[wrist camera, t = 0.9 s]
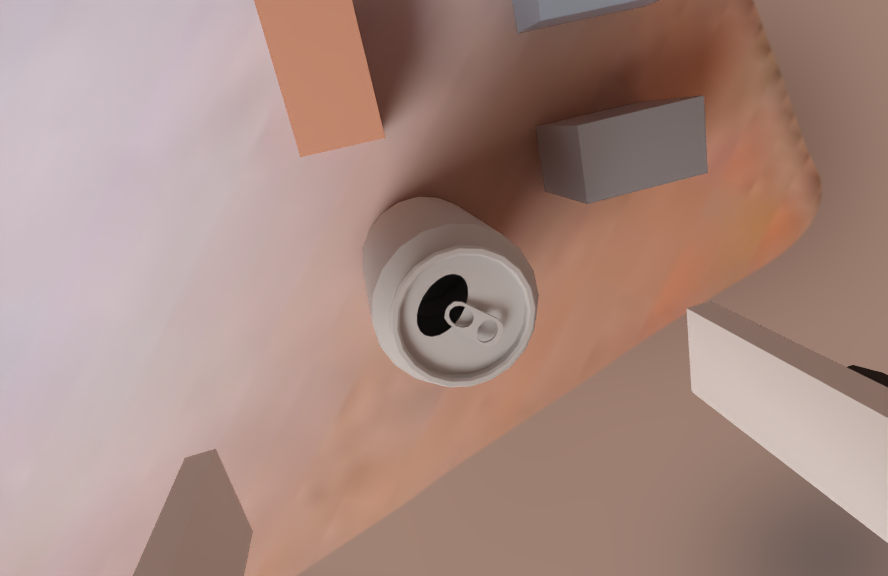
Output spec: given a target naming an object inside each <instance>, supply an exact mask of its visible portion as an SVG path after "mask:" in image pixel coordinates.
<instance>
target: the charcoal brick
mask: <svg viewBox="0 0 888 576" xmlns="http://www.w3.org/2000/svg"><path fill="white" fill-rule="evenodd" d="M536 134H537V141H538V147H539V154H540V161H541V167H542V174H543V181H544V187H545V192H549V193H552V194H556V195H559V196H562V197H566V198H569V199H573V200H576V201H579V202H583V203H586V204H589V203H592V202H596V201H600V200H604V199H608V198H612V197H616V196H620V195H624V194H627V193H631V192H635V191H639V190H643V189H647V188H651V187H655V186H658V185H662V184H666V183H670V182H674V181H678V180H682V179H686V178H689V177H693V176H697V175H701V174H705V173H708V169H707V148H706V127H705V107H704V96H694V97H683V98H673V99H662V100H652V101H642V102H637V103H633V104H629V105H624V106H620V107H616V108H612V109H607V110H603V111H599V112H595V113H591V114H586V115H582V116H578V117H574V118H569V119H565V120H561V121H557V122H552V123H548V124H544V125H540V126H536Z"/></svg>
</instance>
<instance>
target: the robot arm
mask: <svg viewBox="0 0 888 576" xmlns="http://www.w3.org/2000/svg"><path fill="white" fill-rule="evenodd" d="M687 321H688V338H689V355H690V371H691V388H692V392H693V393H694V394H696V395H697V396H698V397H699V398H701V399H702V400H704V401H705V402H706V403H707V404H708V405H710V406H711V407H712V408H714V409H715V410H716V411H718V412H719V413H720V414H722V415H723V416H724V417H725V418H727V419H728V420H729V421H730V422H732V423H733V424H734V425H736V426H737V427H738V428H740V429H741V430H742V431H743V432H745V433H746V434H747V435H749V436H750V437H751V438H753V439H754V440H755V441H756V442H758V443H759V444H760V445H762V446H763V447H764V448H765V449H767V450H768V451H769V452H771V453H772V454H773V455H775V456H776V457H777V458H778V459H780V460H781V461H782V462H784V463H785V464H786V465H788V466H789V467H790V468H791V469H793V470H794V471H795V472H797V473H798V474H799V475H800V476H802V477H803V478H804V479H806V480H807V481H808V482H810V483H811V484H812V485H813V486H815V487H816V488H817V489H819V490H820V491H821V492H823V493H824V494H825V495H826V496H828V497H829V498H830V499H832V500H833V501H834V502H835V503H837V504H838V505H839V506H841V507H842V508H843V509H845V510H846V511H847V512H848V513H850V514H851V515H852V516H854V517H855V518H856V519H858V520H859V521H860V522H862V523H863V524H864V525H865V526H867V527H868V528H869V529H870V530H872V531H873V532H875V533H876V534H877V535H878V536H880V537H881V538H882V539H884V540H885V541H886V542H887V543H888V375H886V374H884V373H882V372H878V371H873V370H870V369H866V368H862V367H858V366H854V365H852V366H848V367H845V366H843V365H841V364H839V363H837V362H835V361H833V360H831V359H829V358H826V357H824V356H822V355H820V354H818V353H816V352H814V351H812V350H810V349H808V348H806V347H804V346H802V345H800V344H798V343H796V342H793V341H792V340H790V339H788V338H785V337H783V336H782V335H780V334H777V333H775V332H773V331H771V330H769V329H767V328H765V327H763V326H761V325H759V324H757V323H755V322H753V321H751V320H749V319H747V318H745V317H742V316H741V315H739V314H737V313H735V312H733V311H731V310H728V309H727V308H724V307H722V306H720V305H718V304H716V303H714V302H712V301H710V302H707V303H703V304H700V305H696V306H693V307H690V308H687ZM252 533H253V531H252V528H251V526H250V524H249V522H248V520H247V517H246V515H245V513H244V511H243V508H242V506H241V504H240V502H239V500H238V497H237V495H236V493H235V491H234V488H233V486H232V484H231V482H230V479H229V477H228V475H227V473H226V471H225V468H224V466H223V464H222V462H221V459H220V457H219V455H218V453H217V451H216V449H213V450H210V451H207V452H203V453H200V454H197V455H193V456H190V457H187V458H185V459H184V461H183V464H182V466H181V468H180V470H179V473H178V475H177V477H176V479H175V482H174V484H173V486H172V488H171V491H170V493H169V495H168V498H167V500H166V502H165V504H164V507H163V509H162V511H161V513H160V516H159V518H158V520H157V522H156V525H155V527H154V529H153V531H152V534H151V536H150V538H149V541H148V543H147V545H146V547H145V550H144V552H143V554H142V556H141V559H140V561H139V563H138V565H137V568H136V570H135V572H134V575H133V576H244V573H245V568H246V563H247V558H248V553H249V548H250V543H251V538H252Z"/></svg>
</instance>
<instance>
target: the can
mask: <svg viewBox="0 0 888 576" xmlns="http://www.w3.org/2000/svg"><path fill="white" fill-rule="evenodd" d="M363 272H364V278H365V284H366V289H367V295H368V301H369V307H370V313H371V318H372V323H373V326H374V329H375V332H376V335H377V338H378V341H379V344H380V346H381V348H382V349H383V350H384V351H385V353H386V354H387V355H388V357H389V358H390V359H391V360H392V362H393V363H394V364H395V365H396V366H397V367H399V368H400V369H402V370H403V371H405V372H406V373H408V374H409V375H411V376H412V377H414V378H415V379H419V380H423V381H426V382H430V383H434V384H438V385H442V386H446V387H469V386H474V385H477V384H480V383H483V382H486V381H489V380H492V379H493V378H495V377H496V376H498V375H499V374H501V373H502V372H504V371H505V370H507V369H508V368H510V367H511V366H512V365H513V364H514V362H515V361H516V360H517V359H518V358H519V356H520V355H521V354H522V353H523V352H524V350H525V349H526V347H527V345H528V342H529V340H530V338H531V335H532V333H533V331H534V327H535V320H536V313H537V305H538V296H539V295H538V290H537V285H536V280H535V275H534V271H533V269H532V268H531V266H530V264H529V263H528V261H527V259H526V258H525V256H524V254H523V252H522V251H521V249H519V248H518V247H517V246H516V245H515V244H513V243H512V242H511V241H510V240H508V239H507V238H506V237H505V236H504V235H502V234H501V233H500V232H498V231H496V230H495V229H493V228H492V227H490V226H489V225H487V224H485V223H484V222H482V221H481V220H479V219H478V218H476V217H474V216H473V215H471V214H470V213H468V212H467V211H465V210H463V209H462V208H460V207H459V206H457V205H456V204H453V203H450V202H448V201H445V200H442V199H440V198H436V197H415V198H412V199H408V200H405V201H401V202H398V203H397V204H395V205H394V206H392V207H391V208H389V209H388V210H386V211H385V212H383V213H382V214H381V215H380V217H379V218H378V219H377V220H376V222H375V223H374V224H373V226H372V227H371V228H370V230H369V232H368V235H367V238H366V241H365V244H364V246H363Z"/></svg>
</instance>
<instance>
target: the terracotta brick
mask: <svg viewBox="0 0 888 576" xmlns="http://www.w3.org/2000/svg"><path fill="white" fill-rule="evenodd" d="M254 1H255V5H256V8H257V12H258V15H259V18H260V22H261V25H262V28H263V32H264V35H265V39H266V42H267V45H268V49H269V52H270V56H271V59H272V62H273V66H274V69H275V72H276V76H277V79H278V83H279V86H280V89H281V93H282V96H283V99H284V103H285V106H286V110H287V113H288V116H289V120H290V123H291V126H292V130H293V133H294V137H295V140H296V143H297V147H298V150H299V153H300V157H303V156H308V155H312V154H316V153H321V152H325V151H329V150H334V149H338V148H342V147H347V146H351V145H355V144H360V143H364V142H368V141H373V140H377V139H381V138H385V135H384V131H383V127H382V123H381V118H380V114H379V110H378V106H377V102H376V98H375V94H374V89H373V85H372V81H371V77H370V73H369V69H368V65H367V60H366V56H365V52H364V48H363V44H362V40H361V36H360V32H359V27H358V23H357V19H356V15H355V11H354V7H353V3H352V0H254Z"/></svg>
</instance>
